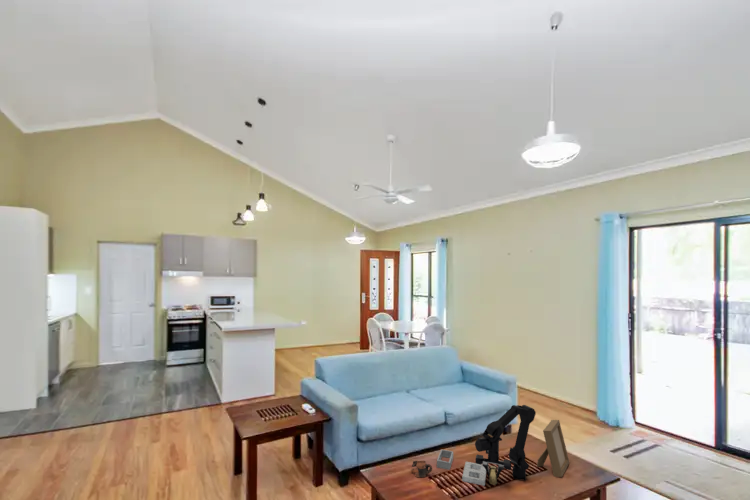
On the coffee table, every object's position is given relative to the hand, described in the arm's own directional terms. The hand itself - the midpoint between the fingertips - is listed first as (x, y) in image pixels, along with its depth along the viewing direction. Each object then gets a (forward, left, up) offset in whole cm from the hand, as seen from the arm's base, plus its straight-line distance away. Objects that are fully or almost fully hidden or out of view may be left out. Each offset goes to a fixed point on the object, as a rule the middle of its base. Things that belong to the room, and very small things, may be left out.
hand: (493, 477), depth 210 cm
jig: (+10, -4, -2) cm, 11 cm away
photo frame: (-33, -32, -3) cm, 46 cm away
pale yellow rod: (0, 0, -2) cm, 2 cm away
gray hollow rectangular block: (+28, -12, -2) cm, 31 cm away
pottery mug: (+39, +6, -3) cm, 39 cm away
